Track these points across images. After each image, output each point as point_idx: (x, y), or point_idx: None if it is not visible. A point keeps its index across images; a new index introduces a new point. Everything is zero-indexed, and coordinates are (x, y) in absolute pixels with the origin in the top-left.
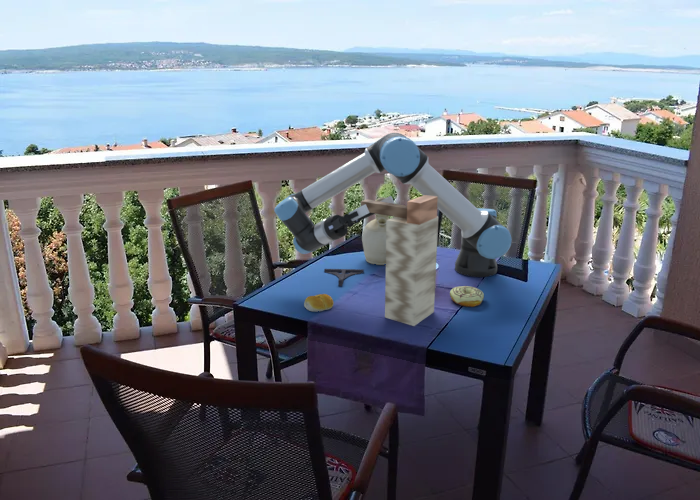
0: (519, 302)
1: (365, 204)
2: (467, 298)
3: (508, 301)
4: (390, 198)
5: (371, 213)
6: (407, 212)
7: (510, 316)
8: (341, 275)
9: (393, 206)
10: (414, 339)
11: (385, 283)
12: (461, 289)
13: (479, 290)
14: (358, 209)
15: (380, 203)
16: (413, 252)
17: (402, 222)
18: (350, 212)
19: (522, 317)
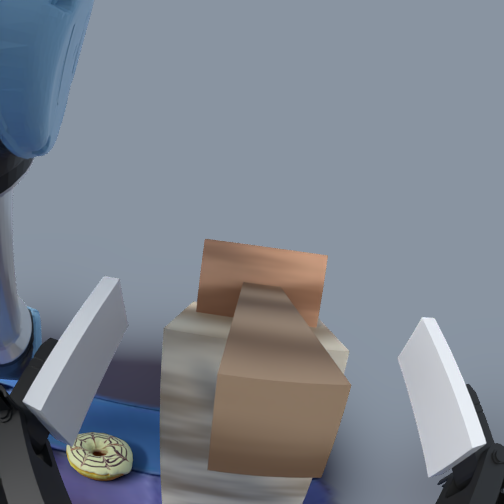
0: (92, 409)
1: (424, 318)
2: (129, 451)
3: (90, 418)
4: (121, 294)
5: (66, 496)
6: (321, 293)
7: (148, 422)
8: None
9: (290, 301)
10: (313, 498)
11: None
12: (91, 455)
13: (89, 433)
14: (449, 368)
15: (284, 318)
16: None
17: (326, 331)
18: (478, 427)
19: (146, 413)
